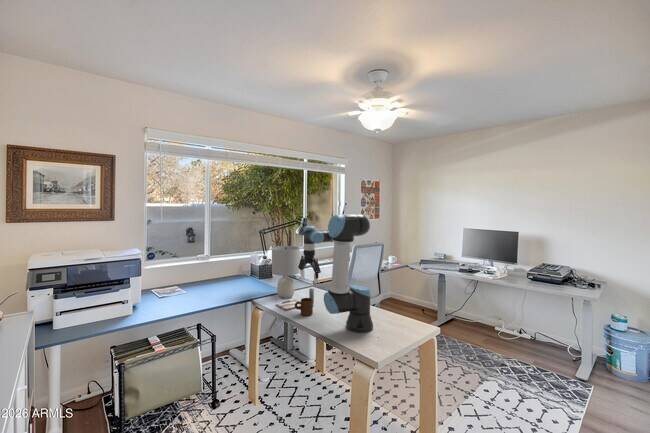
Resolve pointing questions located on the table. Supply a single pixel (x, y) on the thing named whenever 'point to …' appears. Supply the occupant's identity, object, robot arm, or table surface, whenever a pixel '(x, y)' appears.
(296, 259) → the lamp
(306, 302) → the mug
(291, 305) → the clipboard
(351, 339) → the table surface
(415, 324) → the table surface
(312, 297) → the marker
